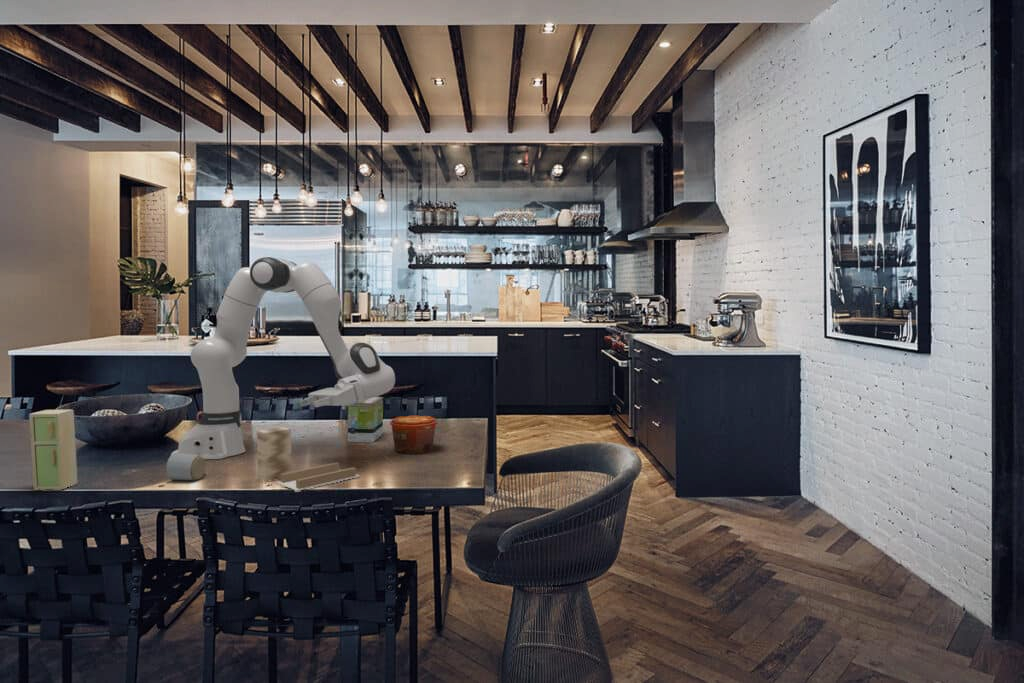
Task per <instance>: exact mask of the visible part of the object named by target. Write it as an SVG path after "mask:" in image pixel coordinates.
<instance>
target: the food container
mask: <svg viewBox="0 0 1024 683" xmlns="http://www.w3.org/2000/svg"><path fill="white" fill-rule="evenodd" d="M389 424H390V425H391V430H392V438H393V444H394V445H393V447H394V451H395V452H397V453H400V454H406V455H407V454H409V455H413V454H414V455H415V454H416V453H417V454H424V452H425V453H429V452H431V451H432V450H433V449H434V439H435V430H436V425H437V424H438V420H436V418H435V417H432V416H429V415H423V416H422V415H421V416H420V415H408V416H403V415H402V416H398V417H395V418H392V419H391V421H390V422H389ZM428 451H429V452H428Z"/></svg>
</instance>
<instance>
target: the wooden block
mask: <svg viewBox="0 0 1024 683" xmlns="http://www.w3.org/2000/svg"><path fill="white" fill-rule="evenodd" d="M256 442H257V443H256V448H257V450H256V451H257V479H258V478H259V479H262V480H264V481H268V480H274V479H278V480H280V479H279V478H280V474H283V473H288V472H293V469H292V468H293V467H292V429H291V428H288V427H284V426H280V427H275V428H268V429H260V430H257V431H256ZM259 479H258V480H259ZM264 481H263V482H264ZM274 481H275V480H274Z"/></svg>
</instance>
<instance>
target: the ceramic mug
mask: <svg viewBox="0 0 1024 683" xmlns="http://www.w3.org/2000/svg"><path fill="white" fill-rule="evenodd" d="M171 454H172V453H171ZM171 454H170V455H169V457H168V459H167V461H166V466H165V472H166V474H165V475H166V477H167V478H168V479H169V480H171V481H188V480H194V481H198V480H200V479H202V477H203V476H204V475H206V473H207V468H206V467H207V466H206V461H205V460H206V459H204V458H203V457H201V456H198V455H192V454H184V453H174V454H172V455H171ZM197 479H198V480H197Z"/></svg>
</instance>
